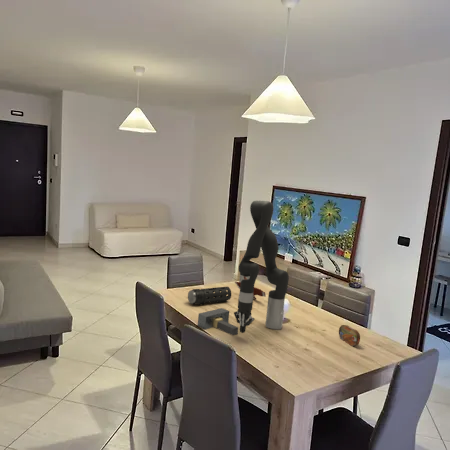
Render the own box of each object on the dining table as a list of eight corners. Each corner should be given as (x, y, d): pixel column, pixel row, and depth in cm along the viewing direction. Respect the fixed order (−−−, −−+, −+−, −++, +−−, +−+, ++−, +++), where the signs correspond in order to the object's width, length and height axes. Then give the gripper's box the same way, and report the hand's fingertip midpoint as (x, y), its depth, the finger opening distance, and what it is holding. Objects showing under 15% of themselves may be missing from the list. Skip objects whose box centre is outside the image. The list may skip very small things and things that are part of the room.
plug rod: (238, 333, 218) (238, 325, 218) (232, 335, 215) (233, 327, 215) (217, 324, 229) (217, 316, 229) (211, 325, 226) (212, 318, 226)
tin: (337, 337, 226) (339, 322, 225) (342, 336, 227) (344, 322, 226) (355, 348, 212) (357, 333, 211) (360, 348, 213) (362, 332, 212)
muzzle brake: (231, 303, 269) (232, 288, 268) (193, 308, 254) (195, 291, 253) (223, 299, 277) (224, 284, 276) (186, 303, 262) (187, 287, 260)
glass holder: (244, 286, 315) (246, 266, 314) (257, 290, 305) (259, 271, 303) (235, 287, 310) (237, 267, 308) (248, 292, 299) (250, 272, 297)
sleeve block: (228, 322, 233) (229, 311, 232) (204, 329, 220) (206, 316, 219) (220, 319, 237) (221, 308, 236) (197, 325, 224) (198, 313, 223)
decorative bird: (221, 292, 281) (229, 271, 284) (238, 298, 293) (246, 278, 296) (251, 303, 261) (260, 281, 263) (268, 310, 273) (276, 289, 275)
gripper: (260, 302, 209) (256, 335, 211) (241, 295, 218) (237, 327, 220) (250, 304, 204) (246, 338, 206) (231, 297, 213) (228, 329, 215)
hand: (242, 332), depth 213 cm, fingers closed
